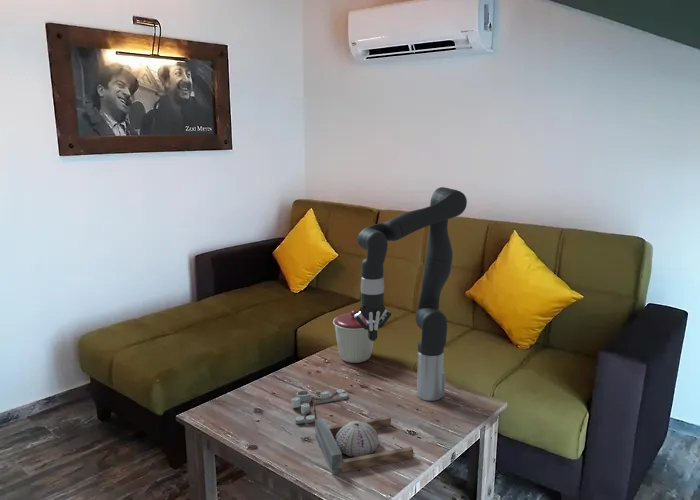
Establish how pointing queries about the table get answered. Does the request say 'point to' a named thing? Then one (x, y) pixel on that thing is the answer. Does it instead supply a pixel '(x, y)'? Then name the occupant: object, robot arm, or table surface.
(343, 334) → the canister
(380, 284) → the robot arm
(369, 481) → the table surface
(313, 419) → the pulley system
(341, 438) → the sea urchin shell
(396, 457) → the track
